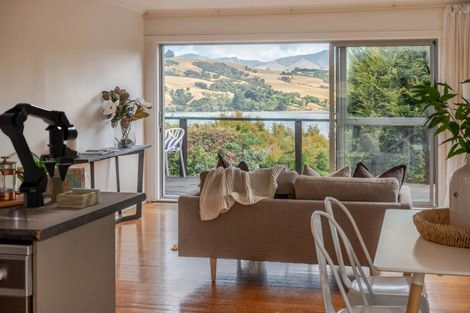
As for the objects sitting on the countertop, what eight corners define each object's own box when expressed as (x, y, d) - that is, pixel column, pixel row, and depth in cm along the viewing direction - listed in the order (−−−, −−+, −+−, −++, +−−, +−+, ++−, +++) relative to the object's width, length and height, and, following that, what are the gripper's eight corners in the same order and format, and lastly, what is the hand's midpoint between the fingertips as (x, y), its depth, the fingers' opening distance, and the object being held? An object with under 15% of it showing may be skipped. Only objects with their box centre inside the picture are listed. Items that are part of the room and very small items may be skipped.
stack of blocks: (33, 195, 251) (32, 167, 250) (39, 193, 258) (38, 166, 257) (81, 195, 251) (80, 167, 249) (85, 193, 257) (85, 166, 256)
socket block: (82, 207, 214) (82, 196, 214) (56, 206, 217) (56, 194, 217) (97, 203, 225) (96, 191, 224) (72, 201, 228) (72, 190, 227)
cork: (53, 204, 227) (52, 177, 226) (48, 202, 232) (47, 175, 231) (68, 202, 231) (67, 176, 230) (63, 200, 235) (62, 174, 234)
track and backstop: (74, 213, 208) (74, 196, 207) (45, 211, 211) (45, 194, 211) (100, 204, 226) (100, 188, 226) (73, 203, 230) (73, 187, 229)
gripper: (86, 141, 228) (87, 180, 229) (63, 140, 241) (64, 176, 243) (60, 143, 220) (61, 182, 222) (38, 141, 234) (39, 178, 235)
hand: (57, 180), depth 230 cm, fingers open, 9 cm apart
